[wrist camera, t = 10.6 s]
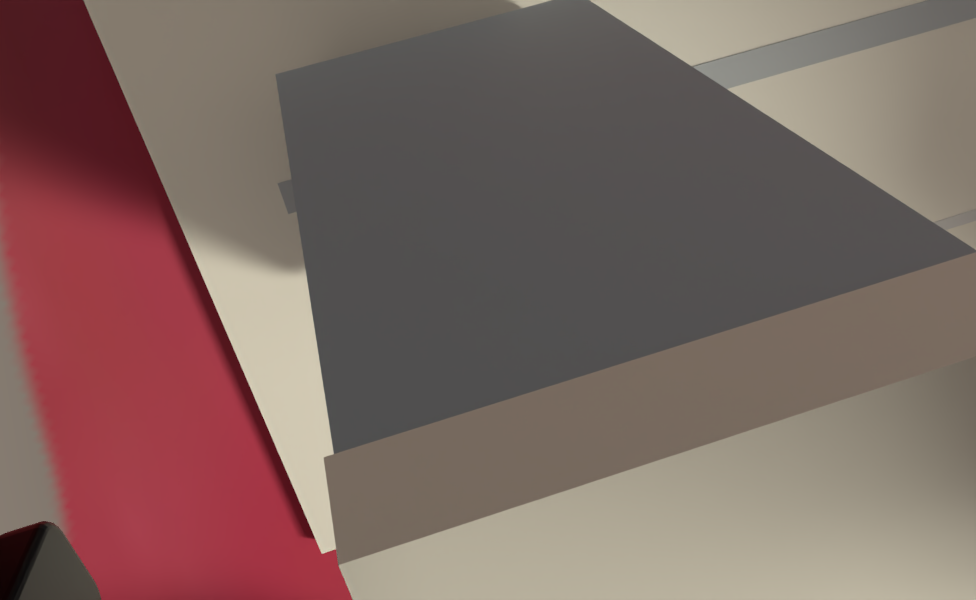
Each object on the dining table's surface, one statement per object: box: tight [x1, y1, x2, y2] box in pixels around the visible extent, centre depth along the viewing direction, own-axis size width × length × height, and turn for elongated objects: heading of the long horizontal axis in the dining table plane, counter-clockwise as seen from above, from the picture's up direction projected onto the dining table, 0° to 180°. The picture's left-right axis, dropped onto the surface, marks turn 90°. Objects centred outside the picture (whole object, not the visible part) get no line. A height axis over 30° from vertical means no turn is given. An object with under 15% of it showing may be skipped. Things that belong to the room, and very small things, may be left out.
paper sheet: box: [83, 0, 976, 554], centre depth 15 cm, size 16×11×1 cm
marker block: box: [275, 0, 976, 600], centre depth 9 cm, size 4×4×9 cm
